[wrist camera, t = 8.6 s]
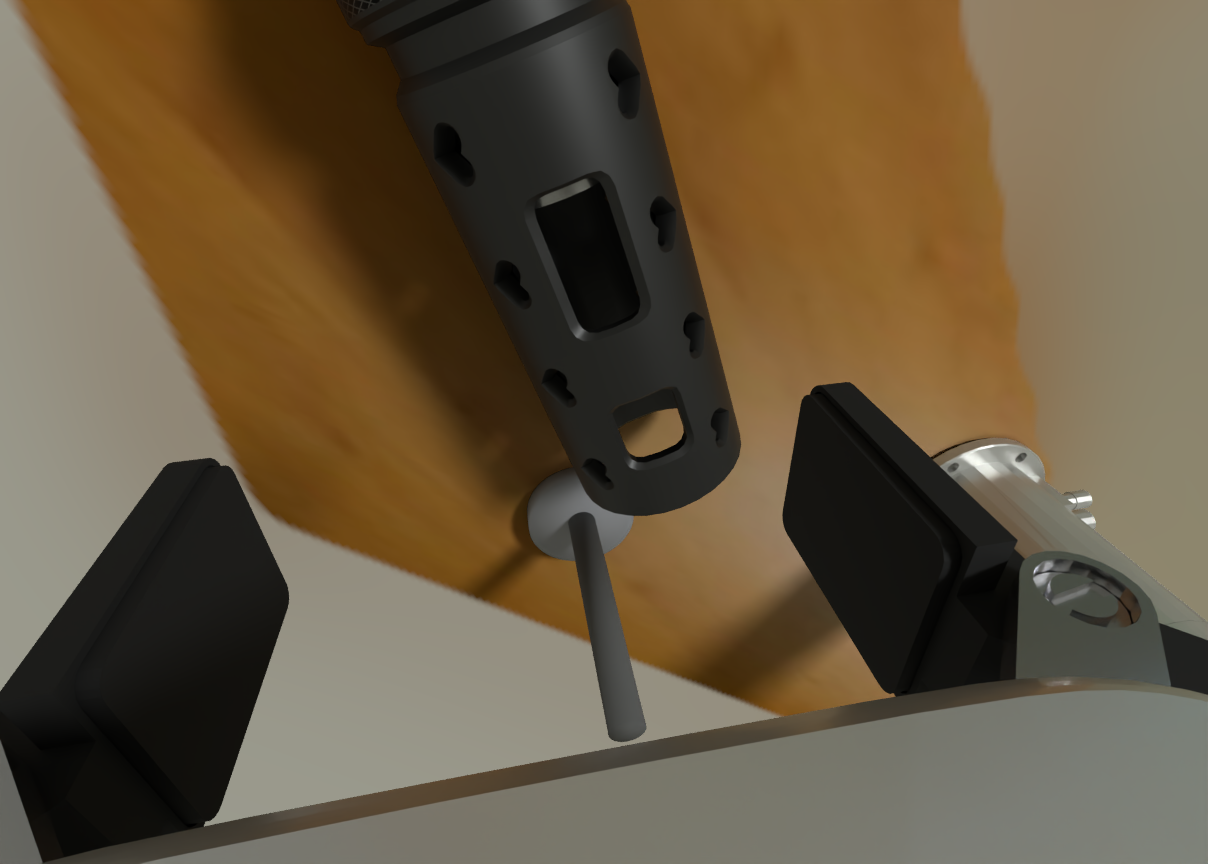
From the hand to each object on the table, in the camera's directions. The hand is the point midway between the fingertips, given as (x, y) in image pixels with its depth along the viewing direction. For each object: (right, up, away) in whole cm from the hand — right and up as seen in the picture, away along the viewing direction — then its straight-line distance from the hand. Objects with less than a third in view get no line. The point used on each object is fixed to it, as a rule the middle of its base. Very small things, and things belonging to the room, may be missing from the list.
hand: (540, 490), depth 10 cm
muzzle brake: (-1, +13, +20) cm, 24 cm away
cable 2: (-1, -4, +31) cm, 31 cm away
